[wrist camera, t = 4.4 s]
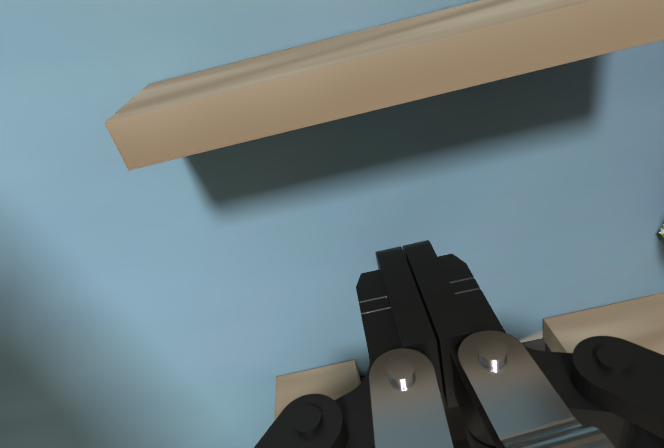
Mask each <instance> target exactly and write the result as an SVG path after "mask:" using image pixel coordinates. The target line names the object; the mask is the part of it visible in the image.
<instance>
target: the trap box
mask: <svg viewBox="0 0 664 448" xmlns="http://www.w3.org/2000/svg"><path fill="white" fill-rule="evenodd" d="M660 40H664V0H479V1H475V2H471V3H467V4H463V5H459V6H455V7H451V8H447V9H443V10H439V11H435V12H431V13H428V14H424V15H420V16H416V17H412V18H408V19H404V20H400V21H396V22H392V23H388V24H384V25H380V26H376V27H372V28H368V29H365V30H361V31H357V32H353V33H349V34H345V35H341V36H337V37H333V38H329V39H325V40H321V41H317V42H313V43H309V44H305V45H301V46H298V47H294V48H290V49H286V50H282V51H278V52H274V53H270V54H266V55H262V56H258V57H254V58H250V59H246V60H242V61H238V62H234V63H231V64H227V65H223V66H219V67H215V68H211V69H207V70H203V71H199V72H195V73H191V74H187V75H183V76H179V77H175V78H171V79H168V80H164V81H160V82H156V83H152V84H149V85H147V86H146V87H145V88H144V89H143V90H142V91H140V92H139V93H138V94H137V95H136V96H135V97H133V98H132V99H131V100H130V101H129V102H128V103H127V104H125V105H124V106H123V107H122V108H121V109H120V110H118V111H117V112H116V113H115V114H114V115H113V116H111V117H110V118H109V119H108V120H107V121H106V122H104V123H105V125H106V127H107V129H108V131H109V133H110V135H111V137H112V139H113V141H114V143H115V145H116V147H117V149H118V151H119V153H120V155H121V157H122V159H123V161H124V162H125V164H126V166H127V168H128V170H132V169H136V168H140V167H144V166H149V165H153V164H157V163H161V162H165V161H169V160H173V159H177V158H181V157H185V156H189V155H194V154H198V153H202V152H206V151H210V150H214V149H218V148H222V147H226V146H230V145H234V144H239V143H243V142H247V141H251V140H255V139H259V138H263V137H267V136H271V135H275V134H280V133H284V132H288V131H292V130H296V129H300V128H304V127H308V126H312V125H316V124H320V123H325V122H329V121H333V120H337V119H341V118H345V117H349V116H353V115H357V114H361V113H365V112H370V111H374V110H378V109H382V108H386V107H390V106H394V105H398V104H402V103H406V102H410V101H415V100H419V99H423V98H427V97H431V96H435V95H439V94H443V93H447V92H451V91H455V90H460V89H464V88H468V87H472V86H476V85H480V84H484V83H488V82H492V81H496V80H500V79H505V78H509V77H513V76H517V75H521V74H525V73H529V72H533V71H537V70H541V69H545V68H550V67H554V66H558V65H562V64H566V63H570V62H574V61H578V60H582V59H586V58H591V57H595V56H599V55H603V54H607V53H611V52H615V51H619V50H623V49H627V48H631V47H636V46H640V45H644V44H648V43H652V42H656V41H660ZM593 336H612V337H617V338H621V339H624V340H627V341H630V342H632V343H635V344H637V345H640V346H642V347H645V348H647V349H650V350H652V351H655V352H657V353H660V354H662V355H664V293H661V294H657V295H652V296H648V297H643V298H638V299H634V300H629V301H624V302H620V303H615V304H611V305H606V306H601V307H597V308H592V309H587V310H583V311H578V312H574V313H569V314H564V315H560V316H555V317H551V318H546V319H543V338H542V339H537V340H532V341H528V342H523V343H522V345H523V346H525V347H528V348H531V349H534V350H539V351H547V352H564V353H573V351H574V349H575V347H576V345H577V344H578V343H579V342H581V341H582V340H584V339H586V338H589V337H593ZM365 377H366V376H365ZM365 377H360V376H359V373H358V369H357V366H356V363H355V360H352V361H347V362H343V363H338V364H333V365H329V366H324V367H320V368H315V369H310V370H306V371H301V372H297V373H292V374H287V375H283V376H278V377H276V396H275V420H276V418H277V417H278V416H279V414H280V413H281V412H282V411H283V409H284V408H285V407H286V406H287V405H288V404H289V403H290V402H292V401H293V400H295V399H296V398H298V397H301V396H303V395H307V394H323V395H326V396H329V397H330V398H332V399H333V400H336V399H338V398H339V397H341V396H343V395H345V394H347V393H349V392H350V391H352V390H354V389H355V388H356V387H357V386H358V385H359V384H360V383H361V382H362V381H363V380H364V378H365ZM444 402H445V409H444V411H445V415H446V419H447V423H448V427H449V431H450V435H451V439H452V443H453V448H471V447H470V444H469V442H468V440H467V437H466V432H465V422H464V419H463V416H462V413H461V411H460V408H459V406H457V407H452V408H448V407H447V404H446V401H445V398H444Z"/></svg>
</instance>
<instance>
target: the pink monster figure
mask: <svg viewBox="0 0 664 448" xmlns="http://www.w3.org/2000/svg"><path fill="white" fill-rule="evenodd" d="M658 233H660V234H661V236H662V238H664V224H663V228H661V232H658Z"/></svg>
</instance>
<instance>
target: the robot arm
mask: <svg viewBox="0 0 664 448" xmlns="http://www.w3.org/2000/svg"><path fill="white" fill-rule="evenodd" d="M376 258H377V263H378V268H379V270H376V271H371V272H366V273H362V274H361V275H360V278H359V281H358V283H357V286H356V290H357V295H358V300H359V305H360V311H361V316H362V321H363V326H364V332H365V337H366V342H367V347H368V353H369V358H370V366H369V370H368V373H367V375H366V377H365V378H364V380H363V381H362V382H361V383H360V384H359V385H358V386H357V387H356V388H355V389H354V390H352V391H350V392H349V393H347V394H345V395H343V396H341V397H339V398H338V399H336V400H333V399H332V398H330V397H329V396H326V395H323V394H307V395H303V396H301V397H298V398H296V399H295V400H293V401H292V402H290V403H289V404H288V405H287V406H286V407H285V408H284V409H283V411H282V412H281V413H280V414H279V416H278V417H277V418H276V420H275V421H274V422H273V424H272V425H271V426H270V428H269V429H268V430H267V432H266V433H265V434H264V435H263V437H262V438H261V439H260V441H259V442H258V443H257V445H256V446H255V447H254V448H453V443H452V439H451V435H450V431H449V427H448V423H447V419H446V415H445V411H444V409H445V402H444V398H445V401H446V404H447V407H448V408H452V407H457V406H459V408H460V411H461V413H462V416H463V419H464V422H465V432H466V437H467V440H468V442H469V444H470V447H471V448H664V355H662V354H660V353H657V352H655V351H652V350H650V349H647V348H645V347H642V346H640V345H637V344H635V343H632V342H630V341H627V340H624V339H621V338H617V337H612V336H593V337H589V338H586V339H584V340H582V341H581V342H579V343H578V344H577V345H576V347H575V349H574V351H573V353H564V352H547V351H539V350H534V349H531V348H528V347H525V346H523V345H522V343H521V342H520V341H518V340H517V339H516V338H514V337H513V336H511V335H509V334H507V333H506V332H505V331H504V329H503V327H502V326H501V324H500V322H499V320H498V319H497V317H496V315H495V313H494V312H493V310H492V308H491V306H490V305H489V303H488V301H487V299H486V298H485V296H484V294H483V292H482V291H481V290H480V288H479V285H478V284H477V282H476V280H475V279H474V277H473V275H472V273H471V271H470V270H469V268H468V266H467V264H466V263H465V262H463V261H462V260H460V259H459V258H458V257H456V256H455V255H453V254H448V255H444V256H439V257H437V256H436V253H435V251H434V249H433V247H432V245H431V243H430V241H429V240H427V241H422V242H418V243H413V244H409V245H404V246H403V250H402V247H401V246H400V247H396V248H391V249H387V250H382V251H377V252H376Z"/></svg>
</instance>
